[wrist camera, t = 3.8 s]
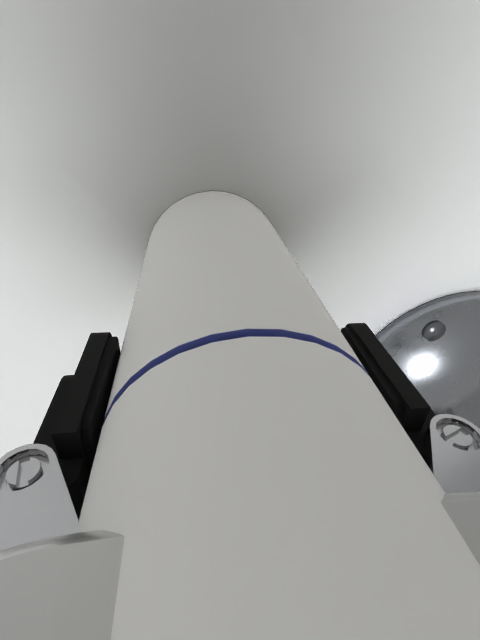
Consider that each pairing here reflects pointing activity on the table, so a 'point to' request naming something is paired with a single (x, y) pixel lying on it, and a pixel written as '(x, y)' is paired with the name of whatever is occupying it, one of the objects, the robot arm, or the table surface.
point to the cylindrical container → (262, 459)
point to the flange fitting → (441, 352)
